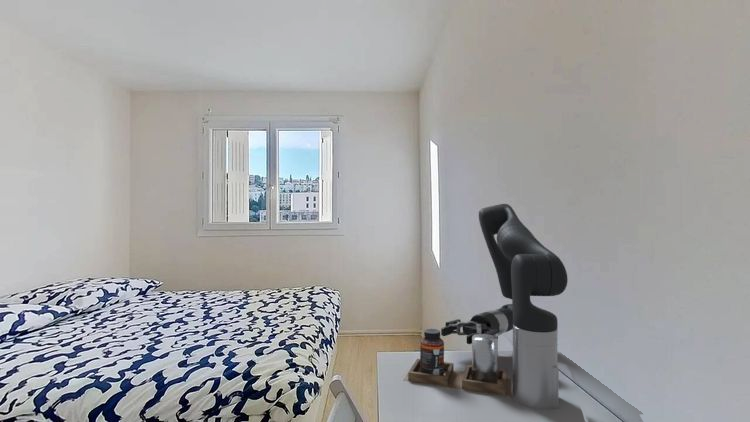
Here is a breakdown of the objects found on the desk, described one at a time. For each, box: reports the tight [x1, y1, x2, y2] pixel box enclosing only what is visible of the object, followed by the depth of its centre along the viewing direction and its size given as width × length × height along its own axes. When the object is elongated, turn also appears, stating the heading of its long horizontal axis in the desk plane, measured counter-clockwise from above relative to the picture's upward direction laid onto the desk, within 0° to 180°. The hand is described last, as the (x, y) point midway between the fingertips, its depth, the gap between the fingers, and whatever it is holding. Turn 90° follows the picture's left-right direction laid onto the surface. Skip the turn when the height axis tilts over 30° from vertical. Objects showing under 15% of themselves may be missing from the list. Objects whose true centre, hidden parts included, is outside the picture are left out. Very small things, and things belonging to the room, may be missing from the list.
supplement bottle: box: [419, 328, 445, 376], centre depth 100 cm, size 6×6×11 cm
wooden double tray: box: [403, 358, 512, 398], centre depth 97 cm, size 25×10×3 cm, turn 70°
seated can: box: [471, 334, 499, 384], centre depth 95 cm, size 6×6×11 cm
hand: (454, 336), depth 106 cm, fingers open, 8 cm apart
